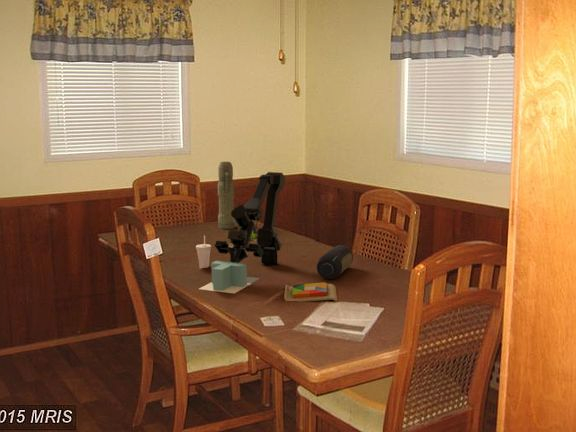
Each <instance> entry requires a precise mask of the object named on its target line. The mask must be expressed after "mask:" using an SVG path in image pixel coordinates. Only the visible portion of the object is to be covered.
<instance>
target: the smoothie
mask: <svg viewBox="0 0 576 432" xmlns="http://www.w3.org/2000/svg"><path fill="white" fill-rule="evenodd" d="M195 249H196V253H197V260H198V266H199V270H201V269H205V268H209V267H210V257H211V249H212V245H211V244H207V243H206V235H203V243H201V244H197V245H195Z"/></svg>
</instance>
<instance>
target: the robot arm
mask: <svg viewBox="0 0 576 432" xmlns="http://www.w3.org/2000/svg"><path fill="white" fill-rule="evenodd" d="M285 183H286V176H285V175H284V173H283V172H280V171H279V172H278V171H277V172H274V171H273V172H272V171H268V172H267V173H266V174H260V176H259V180H258V183H257V185H256V187H255V189H254V192H253V194H252V197H251V199H250V200H249V201H246V203H245V204H238V206H237V207H234V209H233V211H232V212H231V216H232V218H233V219H234V221H235V225H236V226H237V227H238V228H237V230H233V229H228V232H227V239H229V240H230V241H229V242H230V243H227V241H226V240H215V242H214V245H213V246H214V247H215V249H216V250H217V252H218V253H219V254H223V255H227V254H229V256H230V259H229V262H234V263H241V262H242V261H243V260H244V259H247V258H248V257H249V256H248V255H249V253H253V254H252V255H253V256H254V257H255V258H256V257H257V258H260V259H259V262H260V263H261V265H263V266H274V265H275V266H276V265H279V262H278V251H280V250H281V248H282V244H281V241H280V240H279V237H278V235H279V234H278V231H277V230H276V220H277V219H276V217H277V211H278V209H277V208H278V204H279V203H278V200H279V194H280V193H281V191H282V190H283V188H284V185H285ZM265 199H266V200H265ZM264 202H265V208H264V209H265V210H263V205H264V204H263V203H264ZM263 211H264V218H263V225H262V226H261V227H262V228H261V229H259V228H258V229H259V230H258V236H257V244H254V243H250V244H249V246H248V243H249V242H251V235H252V232H253V230H256V227H255V224H256V223H254V221H255V222H256V221H260V220H261V219H262V216H263Z"/></svg>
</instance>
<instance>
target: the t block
mask: <svg viewBox="0 0 576 432" xmlns="http://www.w3.org/2000/svg"><path fill="white" fill-rule="evenodd" d="M210 263H211V264H210V265H211V268H210V269H211V282H212V284H213V290H221V291H223V290H225V289H227V288H229V287H230V286H238V287H243V286H245V285H247V277H248V267H247V266H248V265H247V264H248V263H242V262H239V263H234V262H230V261H224V260H223V261H222V260H221V261H220V260H215V261H212V262H210Z"/></svg>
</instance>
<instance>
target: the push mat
mask: <svg viewBox="0 0 576 432" xmlns="http://www.w3.org/2000/svg"><path fill="white" fill-rule="evenodd" d="M260 279H261V278H260V277H252V276H247V285H245V286H243V287H238V286H230V287H229V288H227V289H225V290H223V291H221V290H213V284H212V281H211V282H209V283H207V284H205V285H204V286H201V287H200V288H198V290H202V291H211V292H220V293H229V294H236V293H238V292H240V291H241V290H243V289H245V288H246V287H248V286H250V285H252V284H254V283H255V282H257V281H259V280H260Z"/></svg>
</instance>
